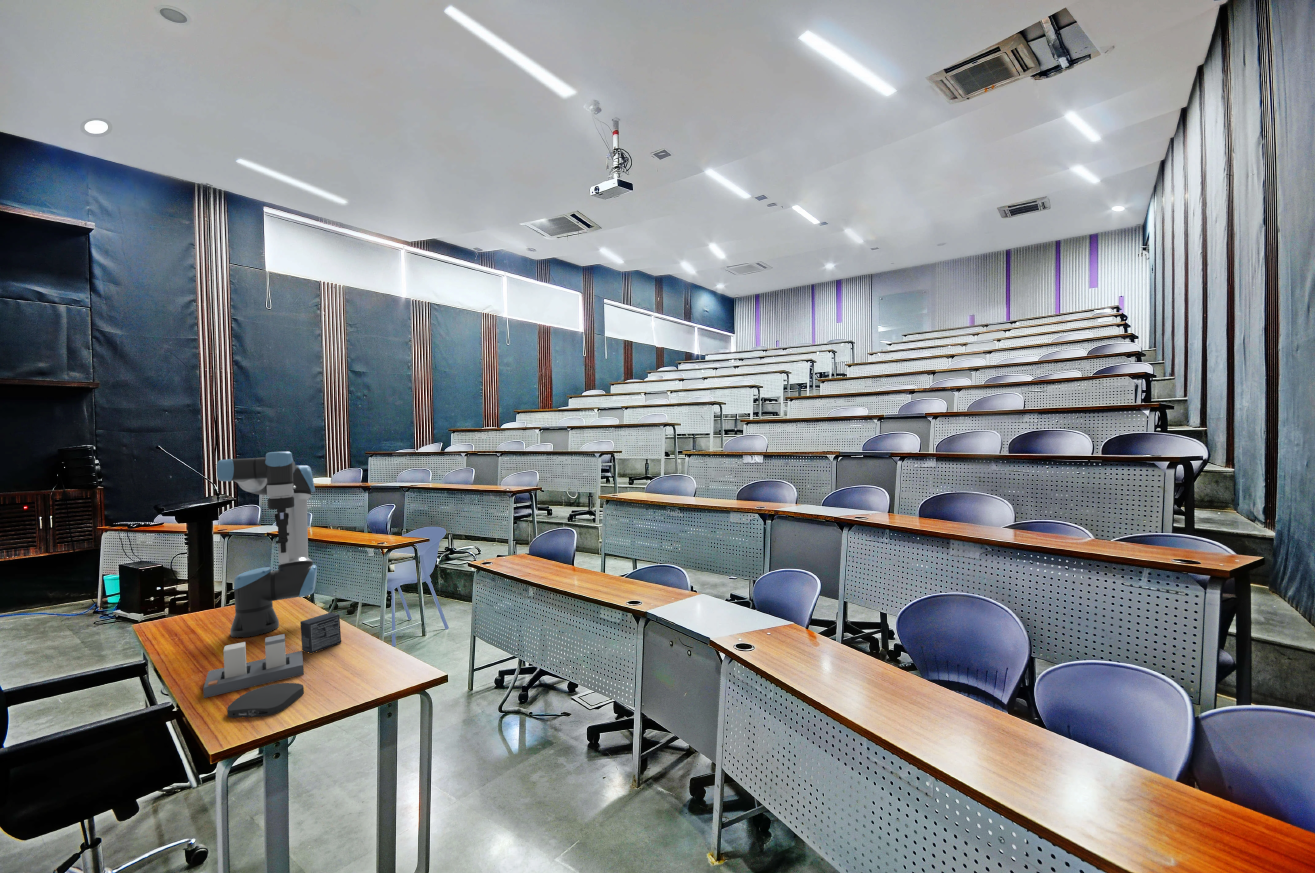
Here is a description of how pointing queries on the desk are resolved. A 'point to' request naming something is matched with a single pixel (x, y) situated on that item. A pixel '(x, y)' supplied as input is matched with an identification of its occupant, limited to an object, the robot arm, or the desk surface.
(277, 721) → the desk surface
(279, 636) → the white plug
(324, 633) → the small box
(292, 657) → the gray slotted dock
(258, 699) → the media streaming box
